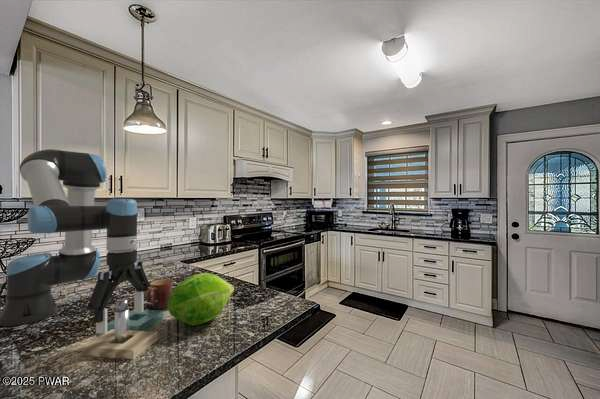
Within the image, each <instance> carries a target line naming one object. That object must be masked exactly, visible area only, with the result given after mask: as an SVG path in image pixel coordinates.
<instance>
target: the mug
mask: <svg viewBox="0 0 600 399" xmlns="http://www.w3.org/2000/svg"><path fill="white" fill-rule="evenodd" d="M174 281H175V280H174V279H172V278H162V279H157V280H153V281H152V282H149V286H150V288H148V289H147V291H146V297H147V298H146V299H147V302H149V303H151V306H152V309H153V310H163V309H166V308H167V305H168V298H169V296H170V295H171V293H172V292H173V285H174ZM167 309H168V308H167Z"/></svg>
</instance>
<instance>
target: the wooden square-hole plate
mask: <svg viewBox="0 0 600 399" xmlns="http://www.w3.org/2000/svg"><path fill="white" fill-rule="evenodd" d="M158 339H159V331H148V330H146V331H132V330H129V340H128V341H126V342H125V343H123V344H117V343H114V340H115V330H114V329H112V330H110V331H108V332H107V333H105V334H100V335H99V336H98V337H96V338H95V339H93V340H91V341H89V342H88V343H86V344H84V345H83V346H81V356H82V357H83V356H84V357H95V358H109V359H123V360H135V359H136V358H137V357H138V356H140V355H141V354H142V353H143V352H145V351H146V350H147V349H149V348H150V347H151V346H152V345H154V344H155V343H156V342H157V341H159V340H158Z"/></svg>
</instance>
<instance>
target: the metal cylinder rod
mask: <svg viewBox="0 0 600 399" xmlns="http://www.w3.org/2000/svg"><path fill="white" fill-rule="evenodd" d="M129 312H130V308H129V299H128V298H120V299H117V300H116V301H115V311H114V320H115V340H114V343H117V344H123V343H125V342H126V341H128V340H129Z"/></svg>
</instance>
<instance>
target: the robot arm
mask: <svg viewBox="0 0 600 399" xmlns="http://www.w3.org/2000/svg"><path fill="white" fill-rule="evenodd" d="M19 172H20V176H21V178H22V179H23V180H24V181H26V183H27V185H28V189H29V193H30V195H31V199H32V202H33V206H31V207H29V209H28V211H27V229H28V232H30V233H31V234H46V235H47V234H48V235H50V234H58V233H64V244H63V245H64V246H63V247H61V248H60V249H59V250H58V254H55V255H52V253H51V252H42V253H35V254H29V255H25V256H21V257H18V258H15V259H12V260H10V261H9V262H8V264H7V267H6V273H5V276H6V301H5V304H4V306H3V308H2V311H1V312H0V326H1V327H15V326H22V325H27V324H31V323H35V322H39V321H41V320H44V319H47V318H49V317H51V316H54V314H56V313H57V312H58V305H57V303H56V301H55V299H54V296H53V294H52V286H55V285H56V286H57V285H60V284H61V285H62V284H67V283H72V282H78V281H84V280H86V279H92V278H93V277H95V276H96V275H97V281H96V284H95V286H94V288H93V290H92V294H91V296H90V298H89V301H88V302H87V306H86V311H91V312H92V311H93V313H94V315H93V316H94V317H93V318H94V321H93V322H94V323H95V333H96V334H100V335H103V334H105V333H107V324H108V308H106V307H107V305H108V302H109V301H110V299H111V297H112V296H113V293H114V292H115V290H116V289H117V287H118V286H120V284H122V283H124V282H126V281H127V282H128V283H130V285H131V286H132V287H133V288H134V289H135V291H134V292H133V295H134V297H133V298H134V299H133V309H134V312H143V310H145V309H144V307H145V306H144V302H145V292H147V291H148V289H149V288H148V287H150V282H149V279H148V278H147V277H148V276H147V275H146V272H145V270H144V268H143V266H144V265H143V262H142V261H138V250H137V248H138V244H137V243H138V241H137V240H138V238H137V237H138V211H139V210H138V202H137V200H135V199H130V198H112V199H108V200H107V202H106V205H95V197H96V191H97V190H98V189H99V188H101V184H103V183H105V182H106V180H107V166H106V164H105V161H104V159H103V157H101V156H100V155H98V154H93V153H88V152H79V151H77V152H76V151H70V150H68V151H67V150H62V149H55V148H52V149H42V150H38V151H34V152H33V153H31V154H29V155H27V156H26V157H24V158H23V160H21V162H20V165H19ZM61 181H62V183H61ZM63 187H64V188H66V189H67V195H66V192H65V190H64V188H63ZM98 230H106V251H107V253H106V265H107V266H108V271H99V269H100V266H101V254H100V252H99V251H98V250H96V247H95V246H94V245H92V241H93V240H92V237H93V231H98Z"/></svg>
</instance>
